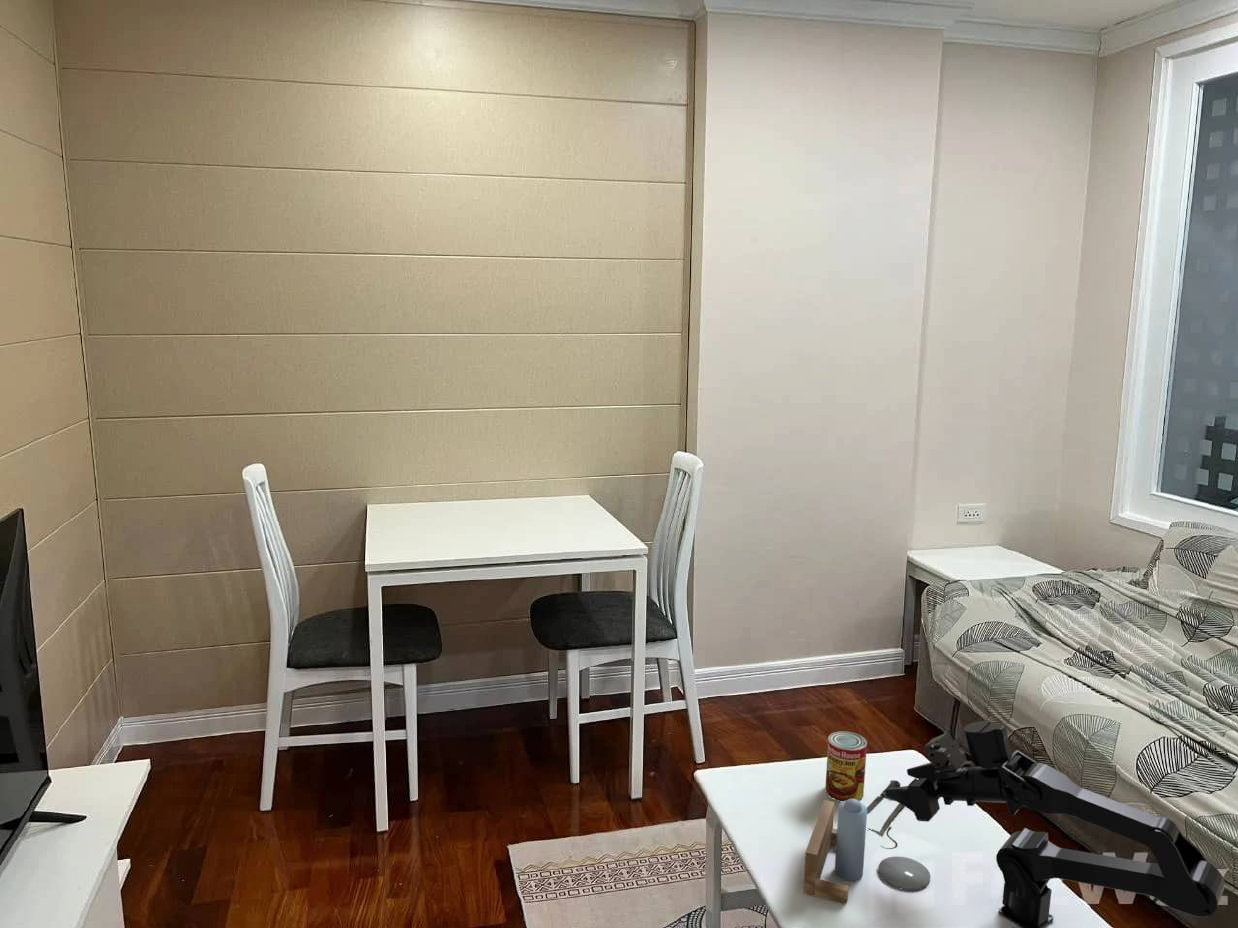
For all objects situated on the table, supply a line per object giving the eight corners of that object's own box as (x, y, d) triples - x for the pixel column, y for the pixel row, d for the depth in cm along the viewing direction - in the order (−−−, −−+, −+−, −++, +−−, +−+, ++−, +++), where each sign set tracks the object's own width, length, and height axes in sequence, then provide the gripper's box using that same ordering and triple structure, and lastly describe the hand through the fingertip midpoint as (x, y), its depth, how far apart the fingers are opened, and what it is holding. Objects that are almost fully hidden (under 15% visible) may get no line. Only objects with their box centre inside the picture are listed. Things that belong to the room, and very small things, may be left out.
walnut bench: (861, 846, 177) (863, 808, 176) (846, 903, 161) (849, 862, 159) (821, 837, 180) (823, 799, 178) (803, 892, 164) (805, 852, 162)
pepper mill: (868, 874, 169) (873, 801, 166) (849, 884, 166) (854, 810, 163) (847, 860, 173) (852, 789, 170) (828, 870, 170) (833, 797, 167)
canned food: (819, 794, 195) (822, 742, 193) (833, 778, 201) (836, 727, 199) (855, 807, 190) (859, 753, 188) (868, 790, 197) (872, 737, 195)
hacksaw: (892, 783, 201) (892, 776, 200) (939, 800, 194) (940, 793, 194) (842, 833, 182) (842, 826, 182) (892, 853, 176) (893, 846, 176)
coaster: (940, 878, 168) (940, 875, 168) (908, 896, 163) (908, 893, 163) (900, 853, 175) (900, 850, 175) (868, 870, 170) (868, 867, 170)
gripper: (986, 719, 167) (907, 721, 178) (946, 759, 154) (862, 758, 164) (1003, 779, 167) (922, 778, 178) (963, 825, 153) (878, 820, 164)
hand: (896, 781), depth 171 cm, fingers open, 9 cm apart
